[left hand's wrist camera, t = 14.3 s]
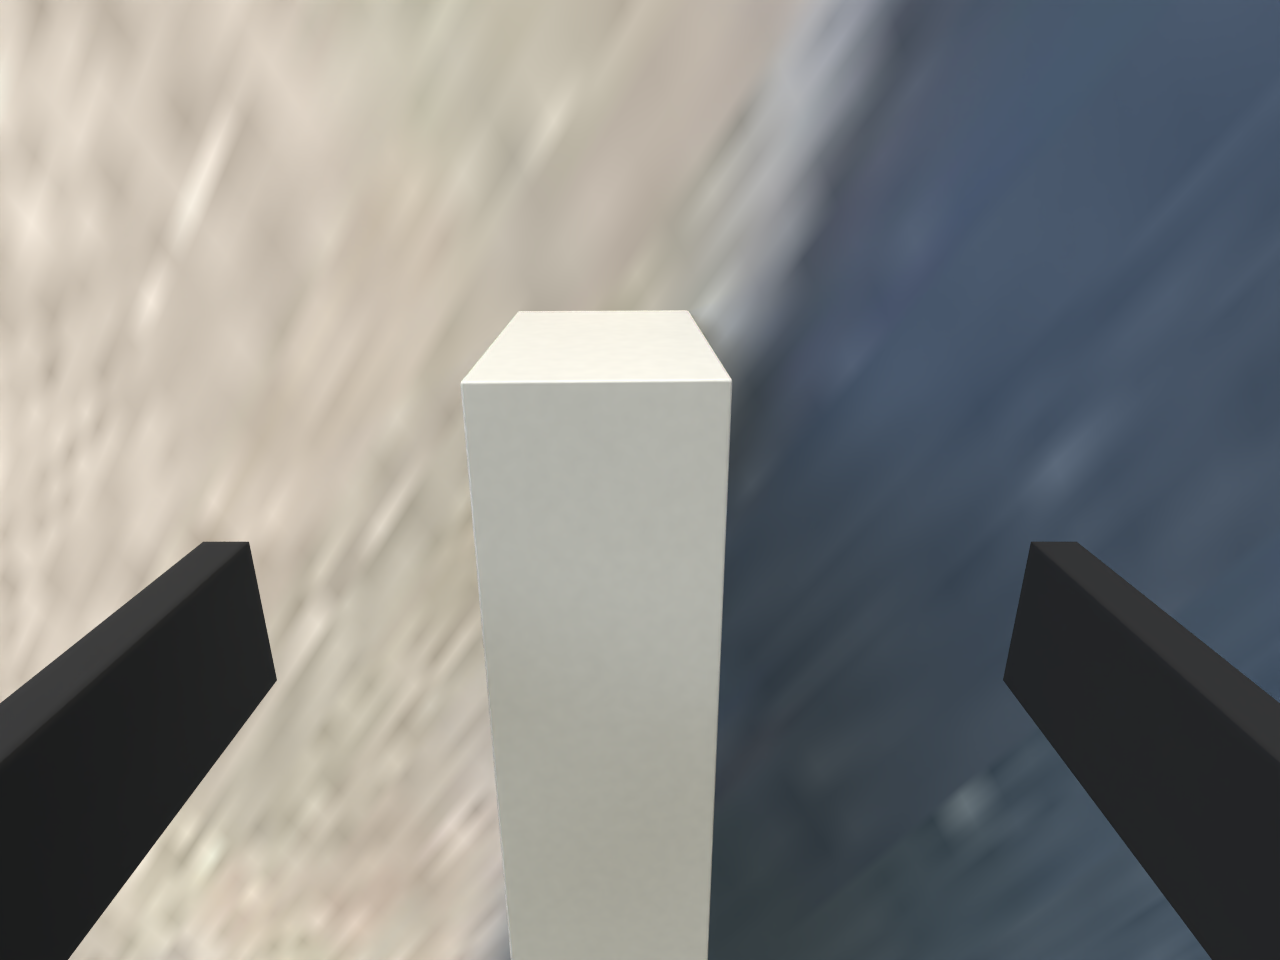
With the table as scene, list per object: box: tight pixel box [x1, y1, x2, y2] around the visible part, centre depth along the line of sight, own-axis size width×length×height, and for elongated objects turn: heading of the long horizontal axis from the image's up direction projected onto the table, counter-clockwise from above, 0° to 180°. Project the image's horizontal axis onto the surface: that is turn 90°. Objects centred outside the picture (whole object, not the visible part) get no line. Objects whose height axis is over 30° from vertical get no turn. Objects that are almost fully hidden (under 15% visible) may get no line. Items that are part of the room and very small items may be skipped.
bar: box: [461, 310, 732, 960], centre depth 23 cm, size 35×5×8 cm, turn 0°
